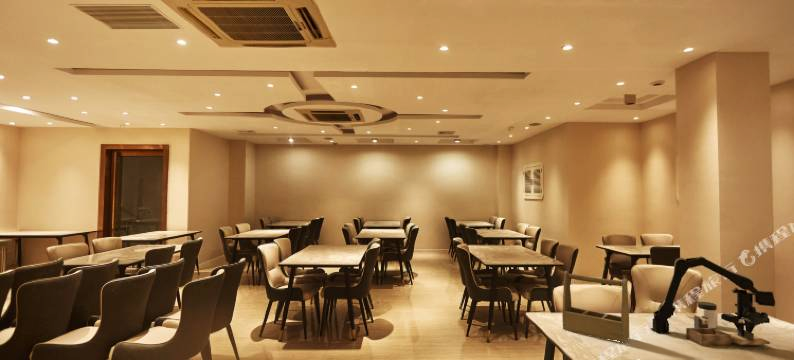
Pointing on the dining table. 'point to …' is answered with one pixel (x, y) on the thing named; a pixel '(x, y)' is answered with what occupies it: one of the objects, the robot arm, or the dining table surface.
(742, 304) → the robot arm
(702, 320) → the tan wooden bar
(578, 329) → the caddy
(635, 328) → the dining table surface
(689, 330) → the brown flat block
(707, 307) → the jar
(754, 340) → the lid
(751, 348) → the mat
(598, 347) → the dining table surface
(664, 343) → the dining table surface
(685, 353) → the dining table surface
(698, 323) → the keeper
